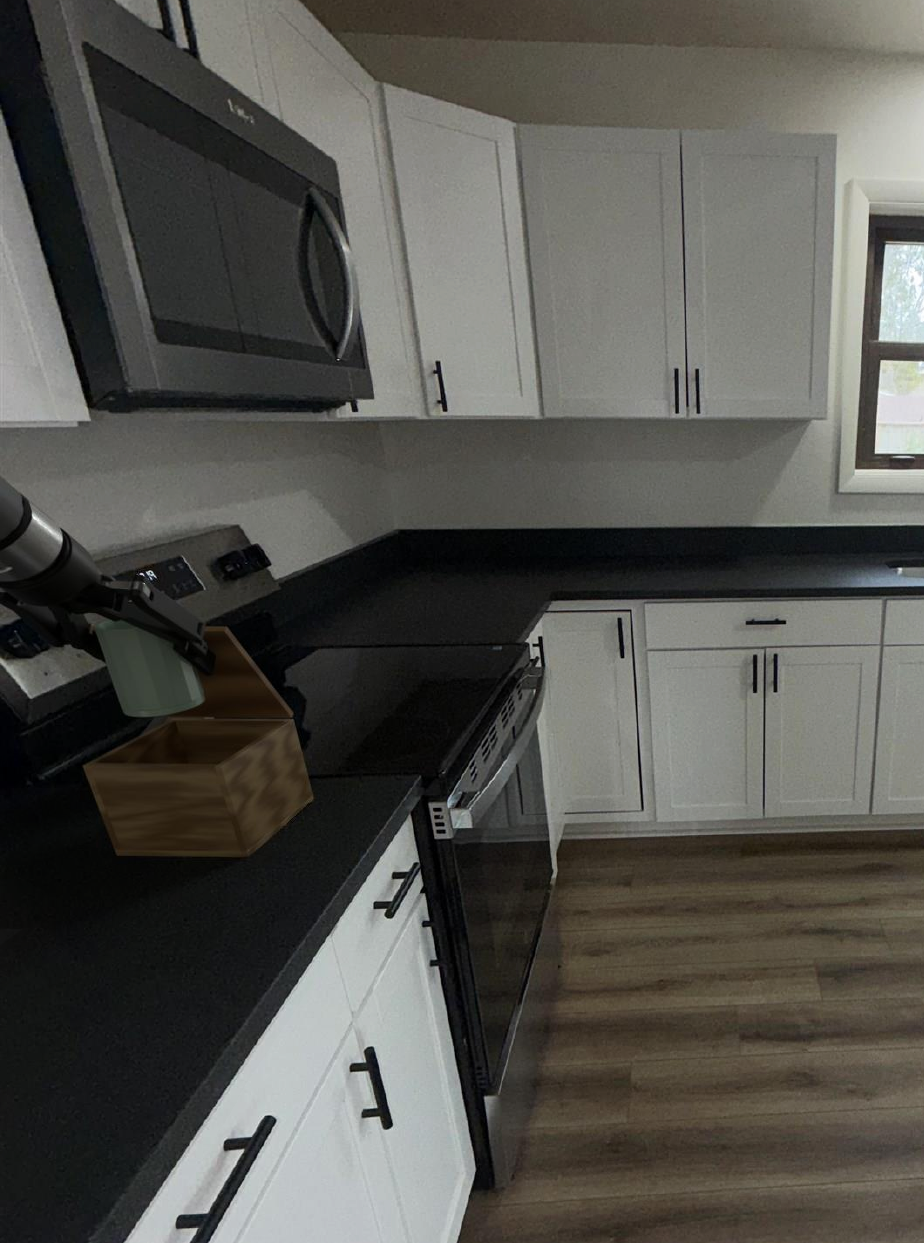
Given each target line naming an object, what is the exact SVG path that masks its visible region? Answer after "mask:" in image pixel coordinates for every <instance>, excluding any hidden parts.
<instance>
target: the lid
mask: <svg viewBox="0 0 924 1243" xmlns="http://www.w3.org/2000/svg"><path fill="white" fill-rule="evenodd" d="M93 626H94V625H91V628H90V632H89V633H90V634H91V635H92V632H93V630H94V628H93ZM203 640H204V642H206V643H207V644H208V649H209V650H211V651H212V652H213V653H214V654H215V655H216V660H215V665H214V671H213V676H206V675H204V674H203V673H202V672H201V671H199V670H198V669H197V670H198V674H199V677H200V680H201V684H202V687H203V690H204V696H205V701H204V702H203V703H201V704H200V705H198V706H196V707H194V708H191V709H188V710H185V711H182V712H178V713H173V714H168V715H169V716H170V717H214V718H222V719H293V716H294V712H293V710H292V709H291V708H290V706H289V705H288V704H287V703H286V701H285V700H284V698H282V696H281V695H280V693H279V692H278V691H277V689H276V688H275V687H274V686H273V685H272V683H271V682H270V681H269V679H268V678H267V677H266V675H265V674H264V673H263V672H262V671H261V669H260V668H259V667H258V665H257V664H256V662H255V661H254V660H253V659H252V657H251V656H250V654H249V653H248V652H247V651H246V650H245V649H244V647H243V646H242V644H241V643H240V642H239V641H238V639H237V638H236V636H235V635H234V634H233V632H232V631H231V630H230V629H229V627H228V626H205V630H204V635H203Z"/></svg>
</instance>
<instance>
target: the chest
mask: <svg viewBox="0 0 924 1243" xmlns="http://www.w3.org/2000/svg"><path fill="white" fill-rule="evenodd" d="M141 734H142V733H141ZM141 734H140V735H138V736H136V737H134V738H132V739H130V740H129V741H127V742H125V743H123V744H121V745H119V746H117V747H115V748H114V749H112V750H109V751H108V752H105V753H104V754H102V755H100V756H98V757H96V758H94V759H93V760H90V761H89V762H87V763H84V764H83V765H82V768H83V770H84V773H85V776H86V779H87V781H88V784H89V786H90V789H91V792H92V794H93V797H94V799H95V802H96V804H97V807H98V811H99V812H100V815H101V818H102V820H103V823H104V825H105V828H106V831H107V833H108V836H109V839H110V842H111V844H112V847H113V850H114V852H115V854H116V856H117V857H188V858H189V857H193V858H194V857H197V858H198V857H199V858H200V857H201V858H250V856H252V855H253V854H255V852H256V851H258V850H259V849H260V848H261V847H262V846H263V845H265V843H267V842H268V841H269V840H270V839H271V838H273V837H274V836H275V835H276V834H277V833H279V831H281V830H282V829H283V828H284V827H286V825H288V824H289V823H290V822H291V821H292V820H293V819H294V818H295V817H294V816H296V815H297V814H298V813H299V812H300V810H303V808H304V807H306V805H307V804H308V803H310V802H312V801H313V799H314V800H315V797H314V793H313V791H312V786H311V782H310V778H309V774H308V771H307V770H308V769H307V766H306V763H305V758H304V755H303V750H302V747H301V743H300V740H299V739H300V738H299V735H298V730H297V727H296V724H295V720H294V718H214V719H191V718H179V719H178V718H173V719H171V720H169V721H167V722H165V723H163V724H161V725H159V726H157V727H155V728H154V729H152V730H150V731H148V732H146V733H144V734H142V735H141ZM313 802H314V801H313ZM313 802H312V803H313ZM306 808H307V807H306ZM303 811H304V810H303ZM300 813H301V812H300ZM300 813H299V814H300ZM299 814H298V815H299ZM298 815H297V816H298ZM297 816H296V817H297ZM293 817H294V818H293ZM292 818H293V819H292ZM291 819H292V820H291ZM290 820H291V821H290ZM289 821H290V822H289ZM288 822H289V823H288ZM287 823H288V824H287ZM283 826H284V827H283ZM280 829H281V830H280ZM273 835H274V836H273Z"/></svg>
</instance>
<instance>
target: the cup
mask: <svg viewBox="0 0 924 1243" xmlns="http://www.w3.org/2000/svg"><path fill="white" fill-rule="evenodd" d="M92 626H93V628H94V631H95V633H96V636H97V639H98V642H99V645H100V648H101V651H102V654H103V657H104V659H105V662H106V663H105V665H106V668H107V671H108V673H109V677H110V679H111V682H112V685H113V688H114V691H115V693H116V697H117V699H118V703H119V705H120V707H121V710H122V713H123V714H124V715H125V716H128V717H131V718H132V717H134V718H155V716H162V715H168V714H173V713H178V712H182V711H185V710H188V709H191V708H194V707H196V706H198V705H200V704H201V703H203V702H204V701H205V696H204V690H203V687H202V684H201V680H200V677H199V674H198V670H197V668H196V667H195V666H193V665H192V664H191V663H190V662H188V661H187V660H186V659H185V658H183V657H182V656H181V655H180V654H179V653H177V652H176V651H175V650H174V649H173V646H174V644H173V643H171V642H169V641H167V640H164V639H162V638H160V637H158V636H155V635H153V634H151V633H149V632H147V631H144V630H142V629H140V628H138V627H135V626H133V625H131V624H129V623H127V622H124V621H122V620H120V621H117V622H114V621H112V620H109V619H105V620H102V621H99V622H96V624H94V625H92Z"/></svg>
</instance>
